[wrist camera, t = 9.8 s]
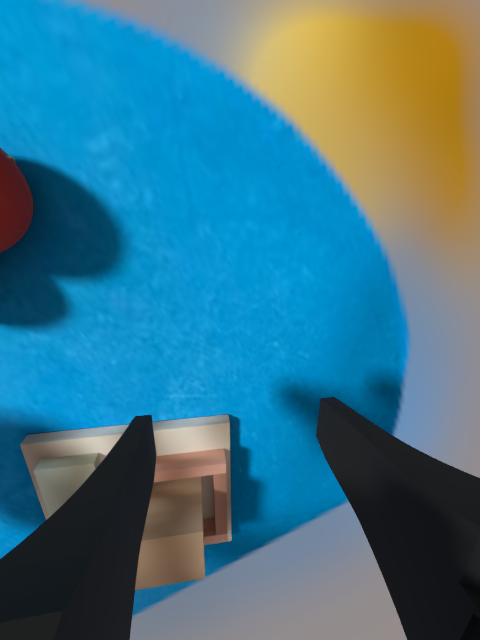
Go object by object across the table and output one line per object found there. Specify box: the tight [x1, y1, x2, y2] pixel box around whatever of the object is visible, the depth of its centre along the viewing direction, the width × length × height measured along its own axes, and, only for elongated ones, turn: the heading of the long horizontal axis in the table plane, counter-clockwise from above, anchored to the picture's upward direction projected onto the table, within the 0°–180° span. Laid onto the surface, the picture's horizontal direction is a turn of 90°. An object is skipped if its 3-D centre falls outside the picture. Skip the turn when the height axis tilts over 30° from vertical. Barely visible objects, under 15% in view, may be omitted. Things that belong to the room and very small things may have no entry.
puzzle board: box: [20, 414, 232, 545], centre depth 23 cm, size 15×14×2 cm
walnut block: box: [135, 476, 205, 590], centre depth 22 cm, size 5×5×5 cm
